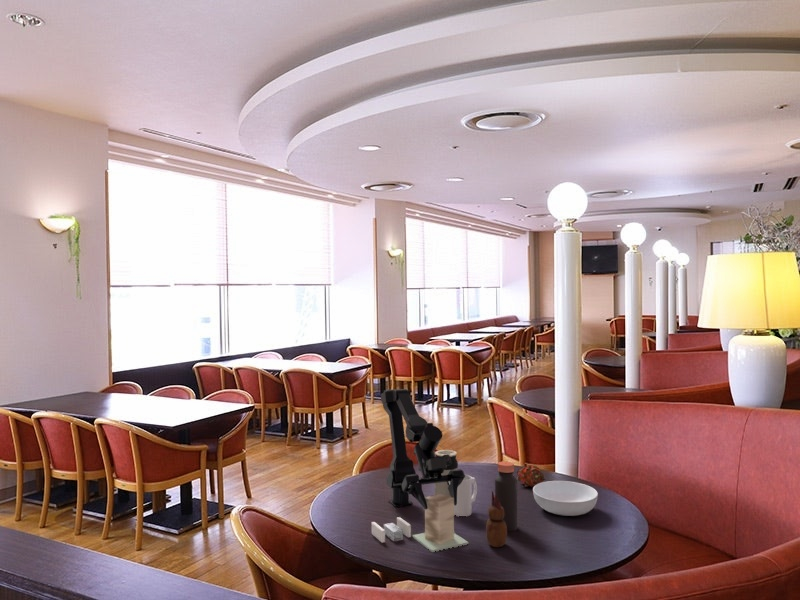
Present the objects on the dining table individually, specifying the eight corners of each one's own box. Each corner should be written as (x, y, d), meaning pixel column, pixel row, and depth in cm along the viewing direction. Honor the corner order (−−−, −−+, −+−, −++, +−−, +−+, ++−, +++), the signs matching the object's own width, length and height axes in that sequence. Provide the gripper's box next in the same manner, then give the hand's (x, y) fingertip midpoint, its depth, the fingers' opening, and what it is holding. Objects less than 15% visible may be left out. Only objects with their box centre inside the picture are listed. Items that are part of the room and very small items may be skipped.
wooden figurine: (484, 540, 183) (483, 489, 183) (503, 539, 183) (503, 489, 183) (489, 550, 176) (488, 497, 176) (509, 549, 177) (509, 496, 176)
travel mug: (430, 503, 215) (430, 451, 215) (451, 499, 218) (450, 448, 218) (441, 510, 208) (440, 456, 207) (462, 507, 211) (461, 454, 210)
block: (425, 538, 183) (424, 497, 183) (439, 532, 187) (438, 493, 187) (440, 544, 179) (439, 502, 179) (454, 538, 183) (453, 498, 183)
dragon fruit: (543, 495, 227) (518, 491, 236) (554, 477, 231) (529, 474, 241) (532, 478, 224) (507, 475, 234) (542, 461, 229) (518, 459, 238)
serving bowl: (520, 512, 206) (520, 491, 206) (552, 496, 221) (552, 476, 221) (579, 528, 192) (579, 506, 192) (609, 510, 207) (608, 489, 207)
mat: (412, 537, 186) (412, 535, 186) (447, 529, 191) (447, 528, 191) (432, 552, 175) (432, 550, 175) (468, 544, 180) (468, 542, 180)
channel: (371, 533, 188) (371, 522, 188) (399, 528, 193) (399, 516, 193) (381, 542, 182) (381, 530, 182) (410, 536, 186) (410, 525, 186)
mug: (460, 518, 200) (460, 481, 200) (447, 512, 206) (447, 476, 205) (483, 512, 206) (483, 476, 206) (470, 506, 211) (469, 471, 211)
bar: (383, 534, 189) (383, 524, 189) (392, 532, 190) (392, 522, 190) (393, 542, 183) (393, 532, 183) (402, 540, 184) (402, 530, 184)
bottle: (499, 533, 188) (499, 467, 188) (492, 524, 195) (491, 461, 194) (520, 531, 190) (520, 465, 189) (512, 522, 196) (512, 459, 196)
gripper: (404, 448, 183) (418, 497, 173) (462, 442, 189) (478, 489, 179) (396, 467, 191) (408, 515, 181) (451, 461, 197) (467, 507, 187)
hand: (441, 506), depth 182 cm, fingers open, 9 cm apart
